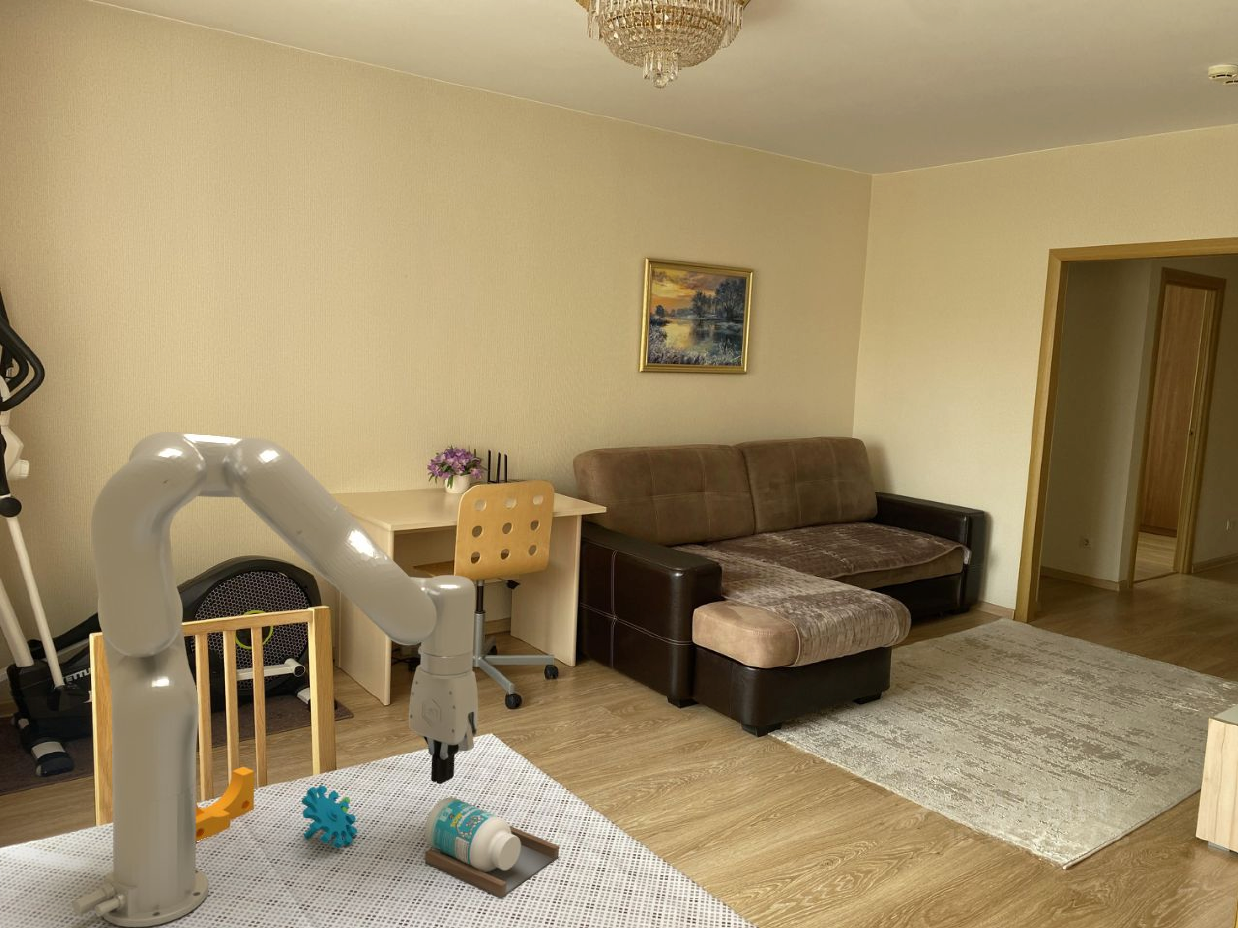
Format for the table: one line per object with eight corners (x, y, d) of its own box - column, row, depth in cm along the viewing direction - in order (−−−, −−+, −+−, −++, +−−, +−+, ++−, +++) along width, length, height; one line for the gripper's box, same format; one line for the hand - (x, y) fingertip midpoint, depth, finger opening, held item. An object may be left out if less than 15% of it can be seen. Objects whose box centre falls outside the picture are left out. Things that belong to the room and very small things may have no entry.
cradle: (501, 898, 125) (501, 885, 125) (425, 863, 132) (425, 851, 132) (558, 857, 136) (559, 845, 136) (485, 826, 143) (485, 815, 143)
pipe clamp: (190, 846, 134) (190, 804, 133) (172, 837, 136) (172, 795, 135) (261, 813, 144) (261, 774, 143) (242, 805, 146) (243, 766, 145)
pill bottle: (458, 787, 139) (528, 816, 131) (458, 833, 140) (527, 864, 133) (421, 808, 133) (492, 840, 125) (422, 856, 134) (492, 890, 127)
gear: (338, 852, 131) (297, 794, 132) (308, 877, 132) (267, 819, 133) (373, 825, 142) (335, 772, 143) (345, 848, 142) (307, 795, 144)
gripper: (391, 655, 137) (388, 774, 139) (468, 679, 129) (463, 804, 131) (427, 643, 144) (423, 757, 146) (502, 665, 136) (497, 785, 138)
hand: (442, 779), depth 139 cm, fingers closed
